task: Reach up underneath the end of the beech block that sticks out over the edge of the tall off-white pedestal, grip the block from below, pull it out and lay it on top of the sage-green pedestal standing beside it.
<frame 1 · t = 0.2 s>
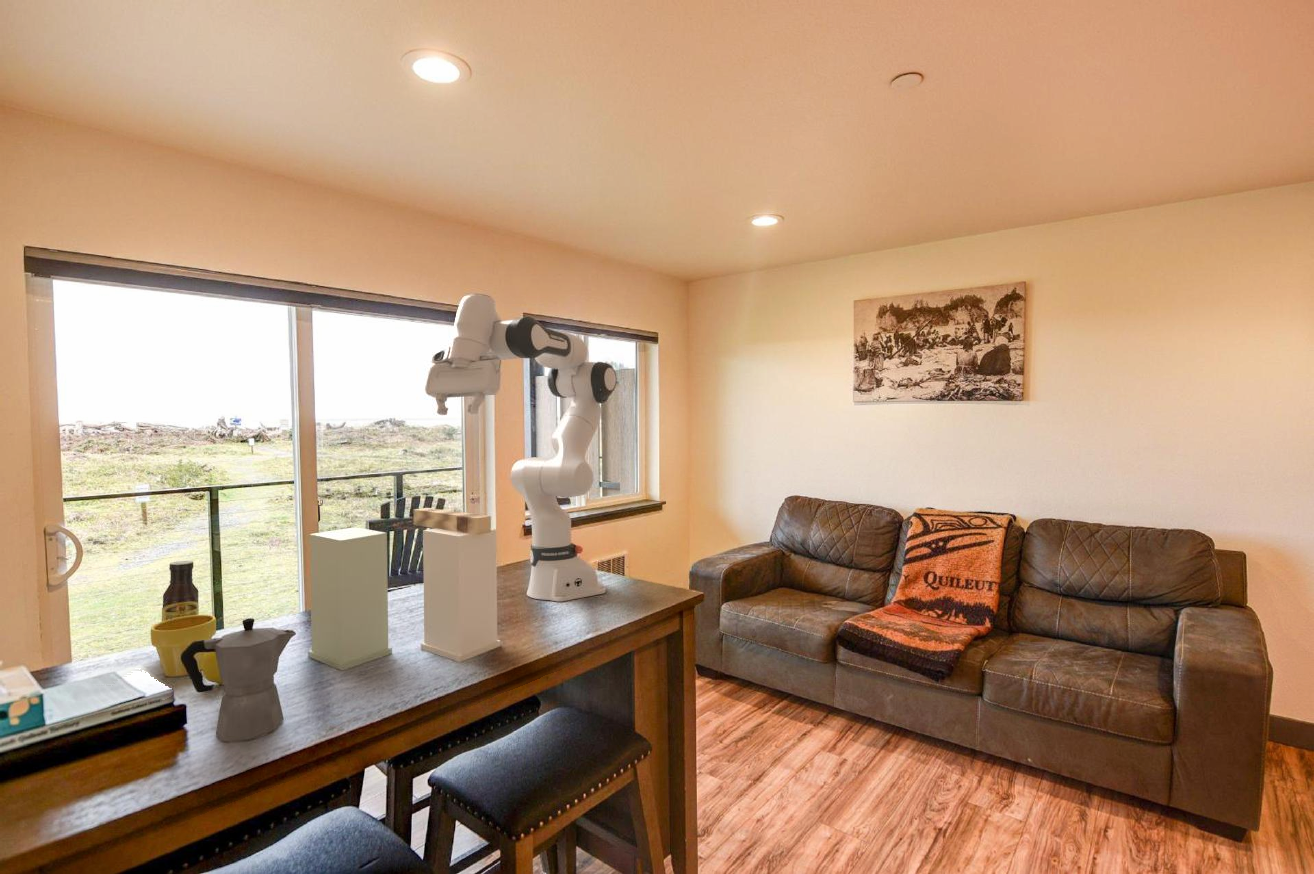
hand: (456, 413, 144), 51 cm above the table, tool tilted 15°, fingers open, 8 cm apart
coffeepot: (242, 731, 101), on the table
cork: (242, 702, 111), on the table
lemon: (220, 685, 118), on the table
plant pot: (185, 671, 124), on the table
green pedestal: (350, 654, 132), on the table
sauce bottle: (180, 656, 132), on the table
beech block: (451, 528, 138), point 26 cm above the table, touching white pedestal
white pedestal: (461, 647, 137), on the table
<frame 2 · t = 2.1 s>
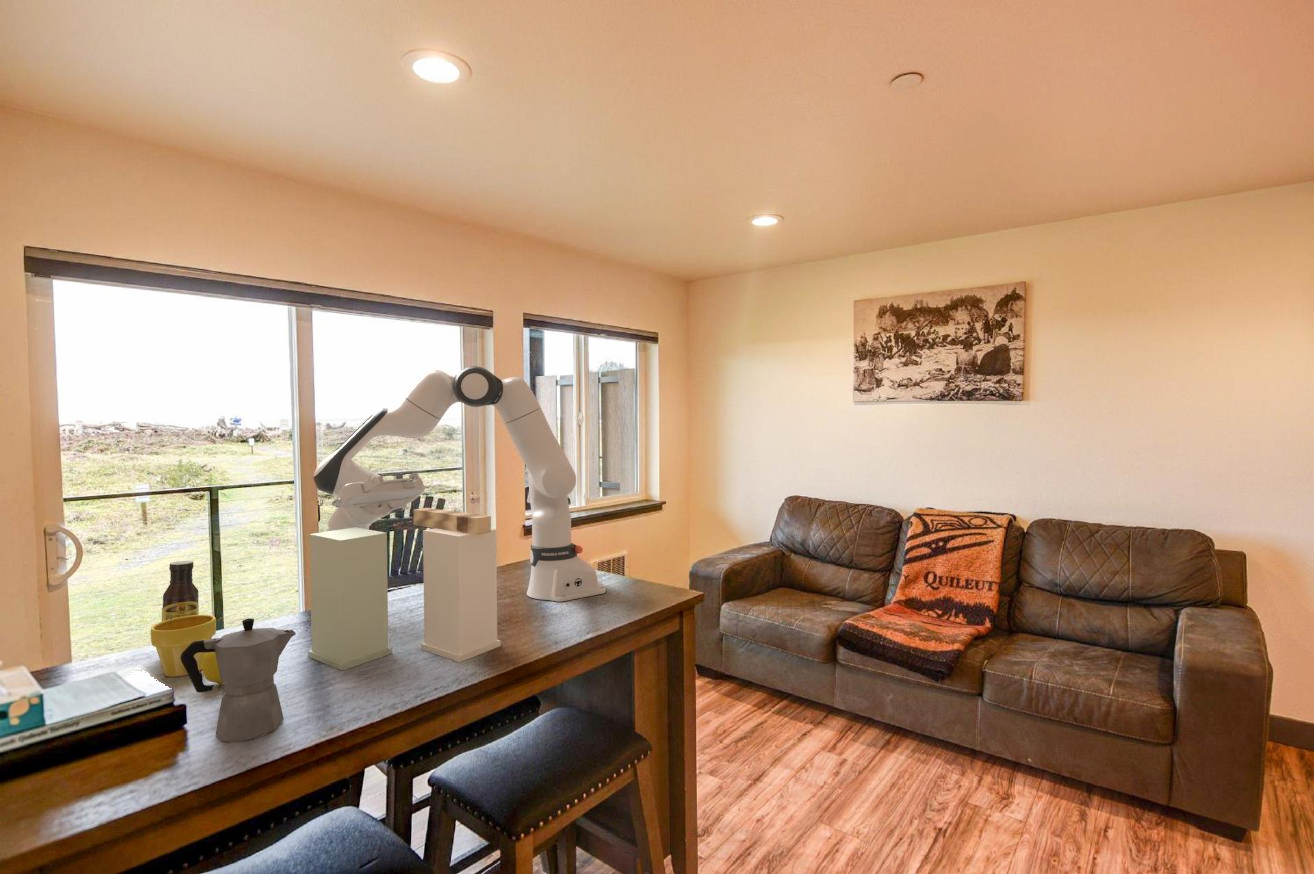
hand: (398, 477, 148), 36 cm above the table, tool pointing upward, fingers open, 8 cm apart
nothing on the table moved.
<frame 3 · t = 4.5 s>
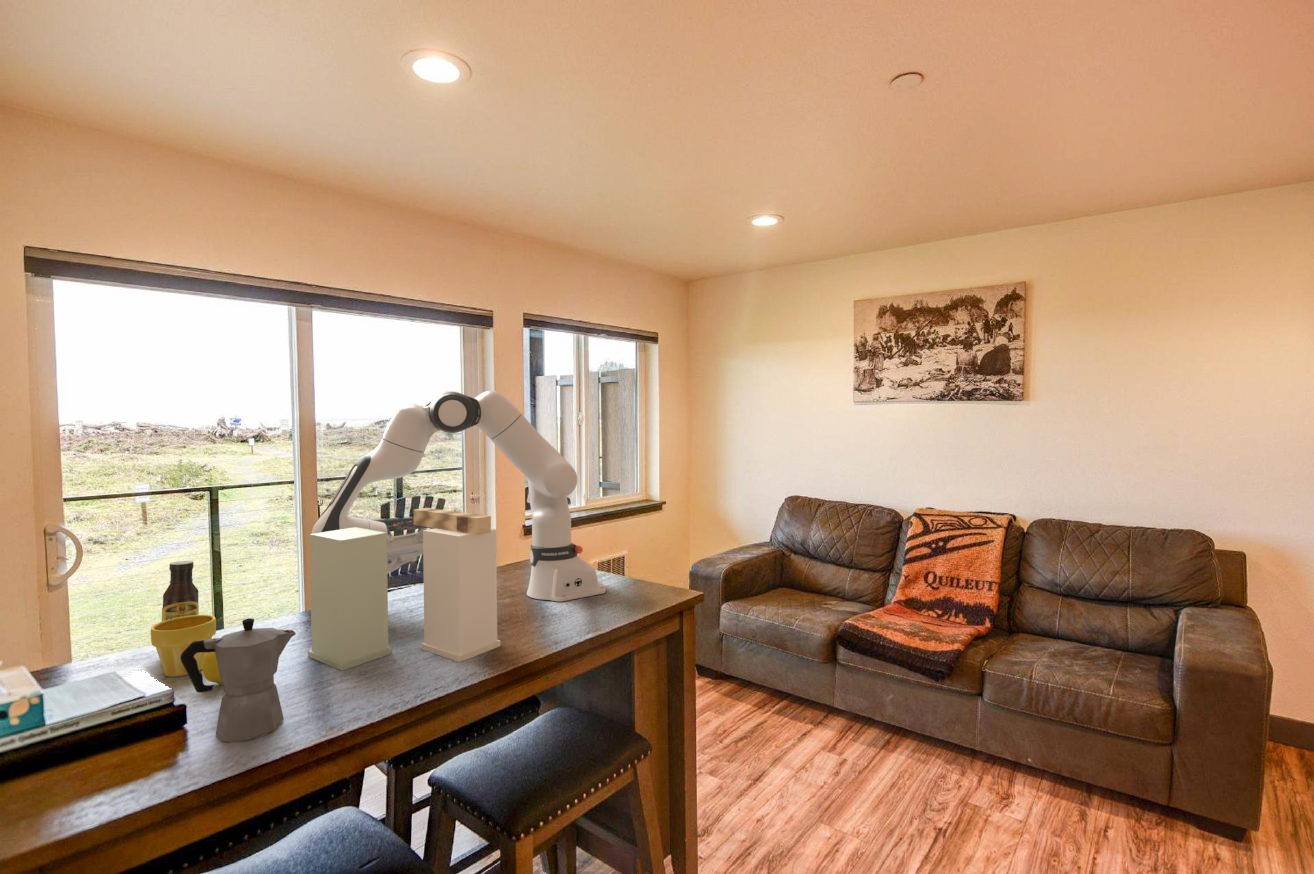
hand: (408, 534, 147), 23 cm above the table, tool pointing upward, fingers open, 8 cm apart
nothing on the table moved.
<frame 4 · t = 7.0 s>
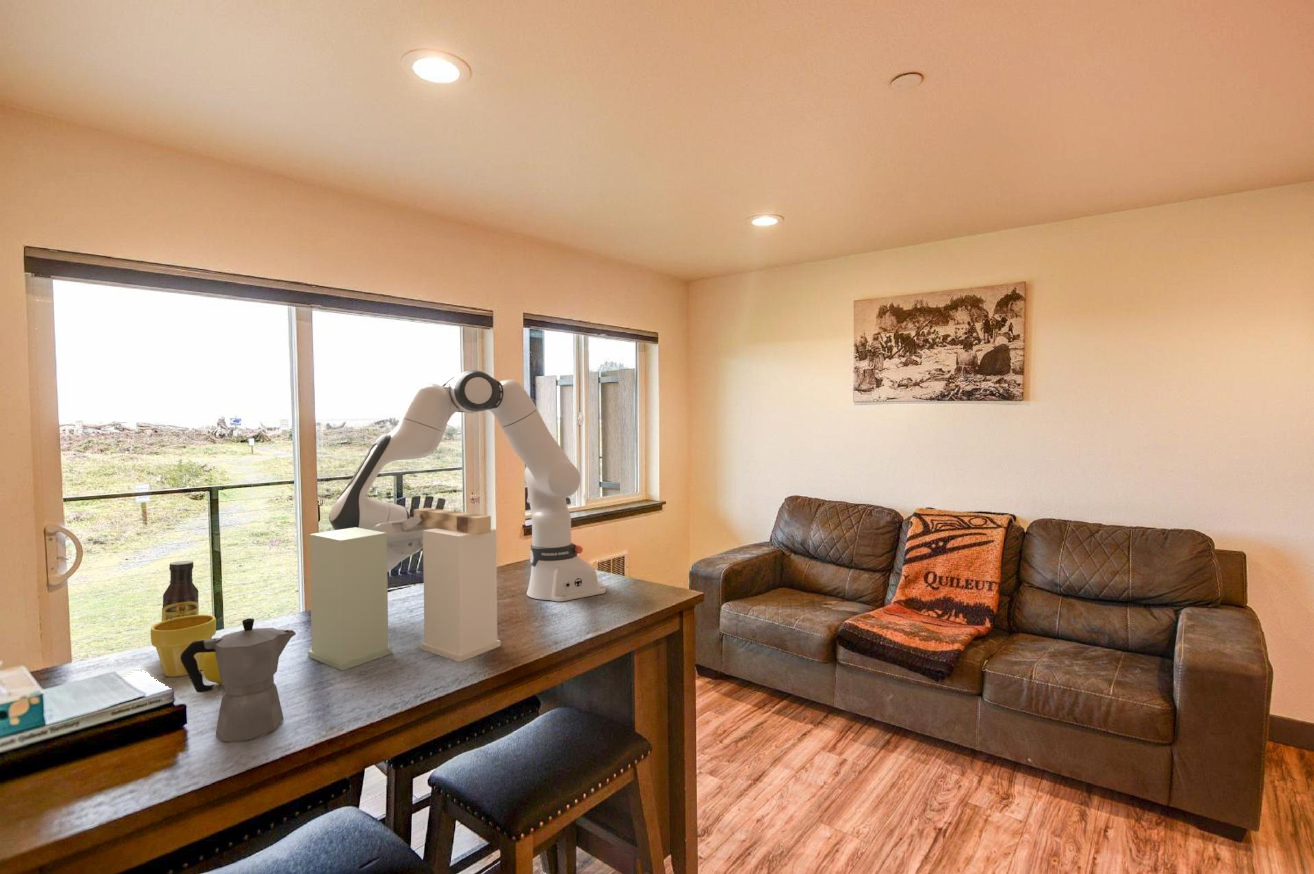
hand: (430, 515, 142), 28 cm above the table, tool pointing upward, fingers closed on beech block, 3 cm apart
beech block: (451, 528, 138), point 26 cm above the table, touching gripper, white pedestal
everything else where it was.
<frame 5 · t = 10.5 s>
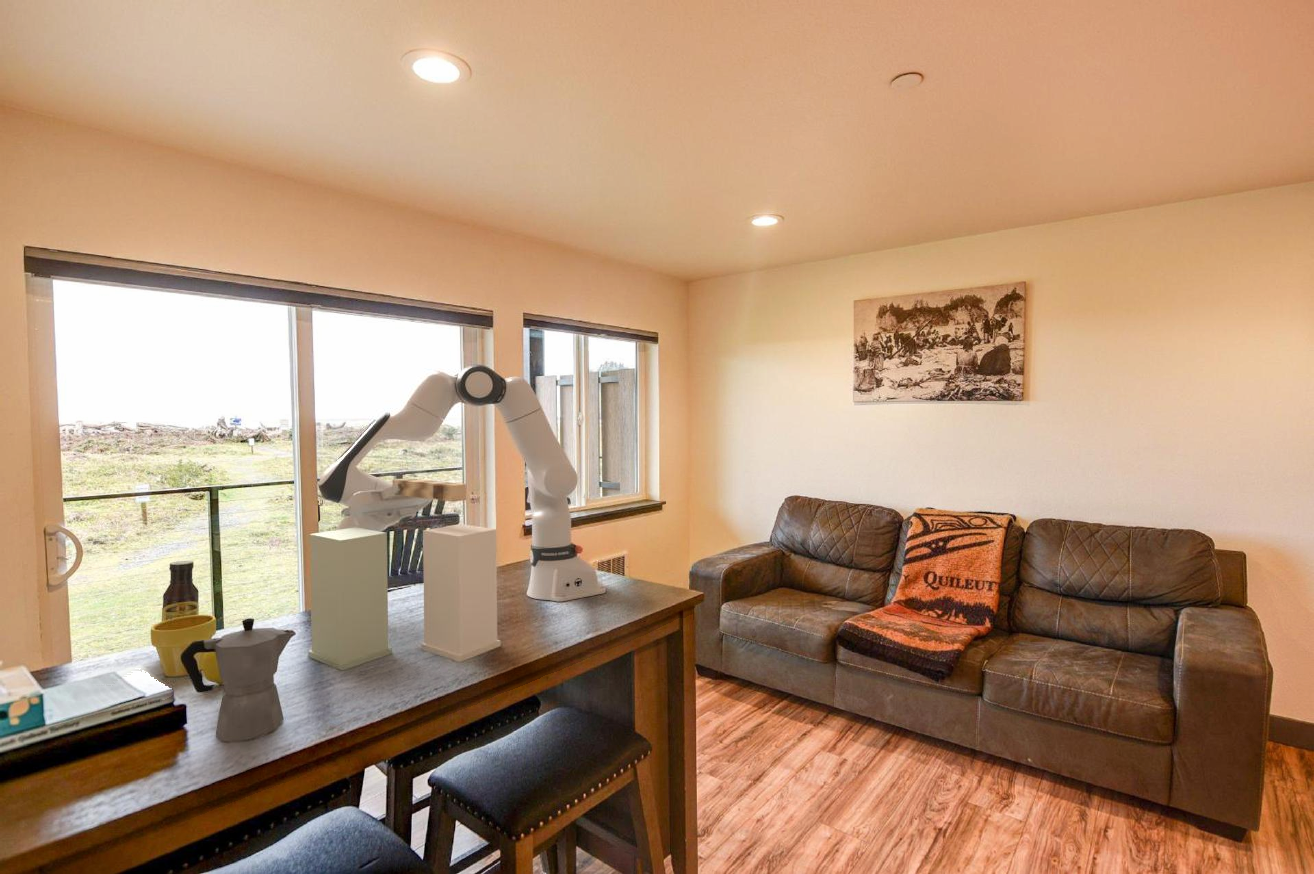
hand: (408, 485, 146), 35 cm above the table, tool pointing upward, fingers closed on beech block, 3 cm apart
beech block: (428, 497, 142), point 32 cm above the table, touching gripper
everything else where it was.
when the fingers open (29 cm above the table, at t = 14.4 s): beech block drops 1 cm, resting on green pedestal.
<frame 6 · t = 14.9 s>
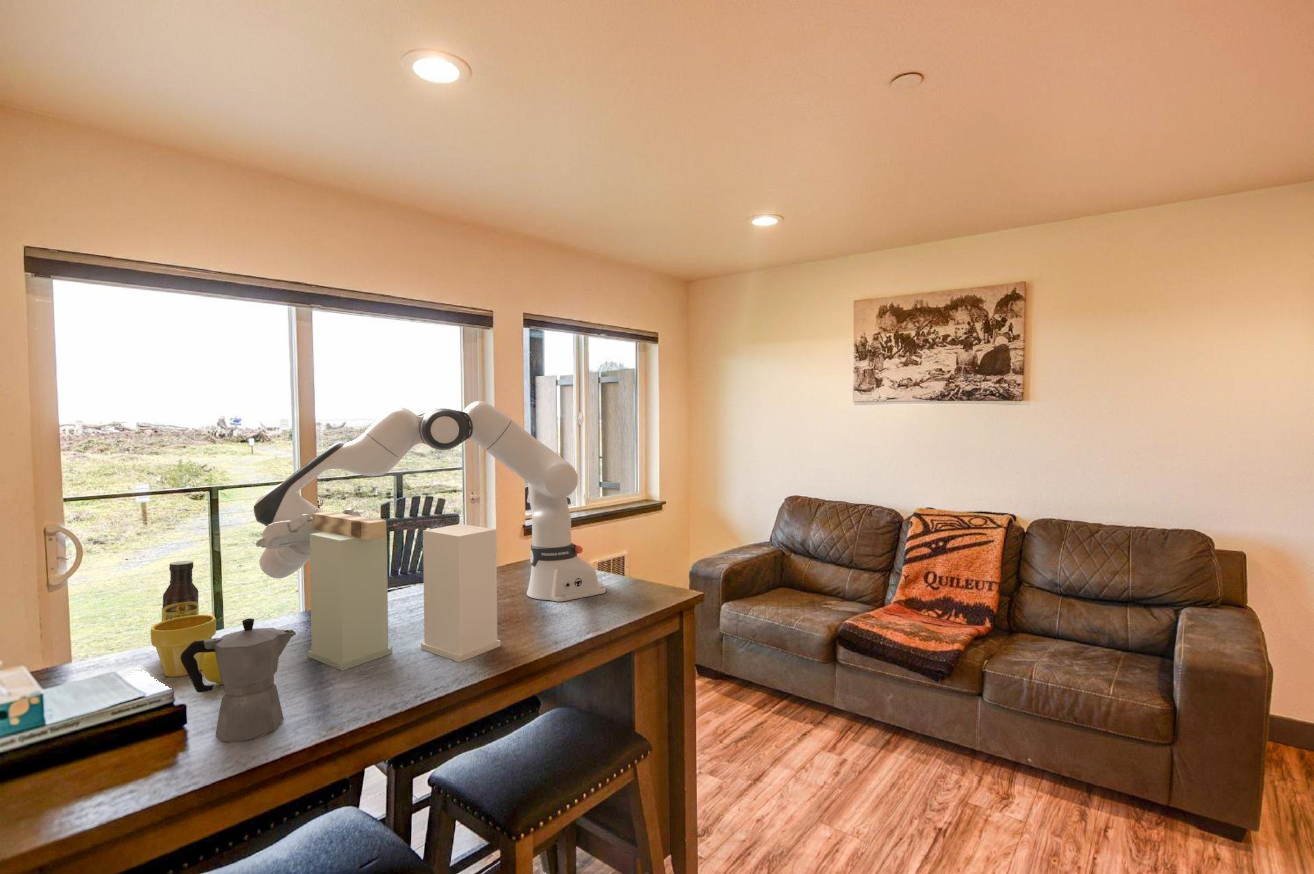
hand: (329, 514, 136), 29 cm above the table, tool pointing upward, fingers open, 8 cm apart
beech block: (348, 533, 132), point 26 cm above the table, touching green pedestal
everything else where it was.
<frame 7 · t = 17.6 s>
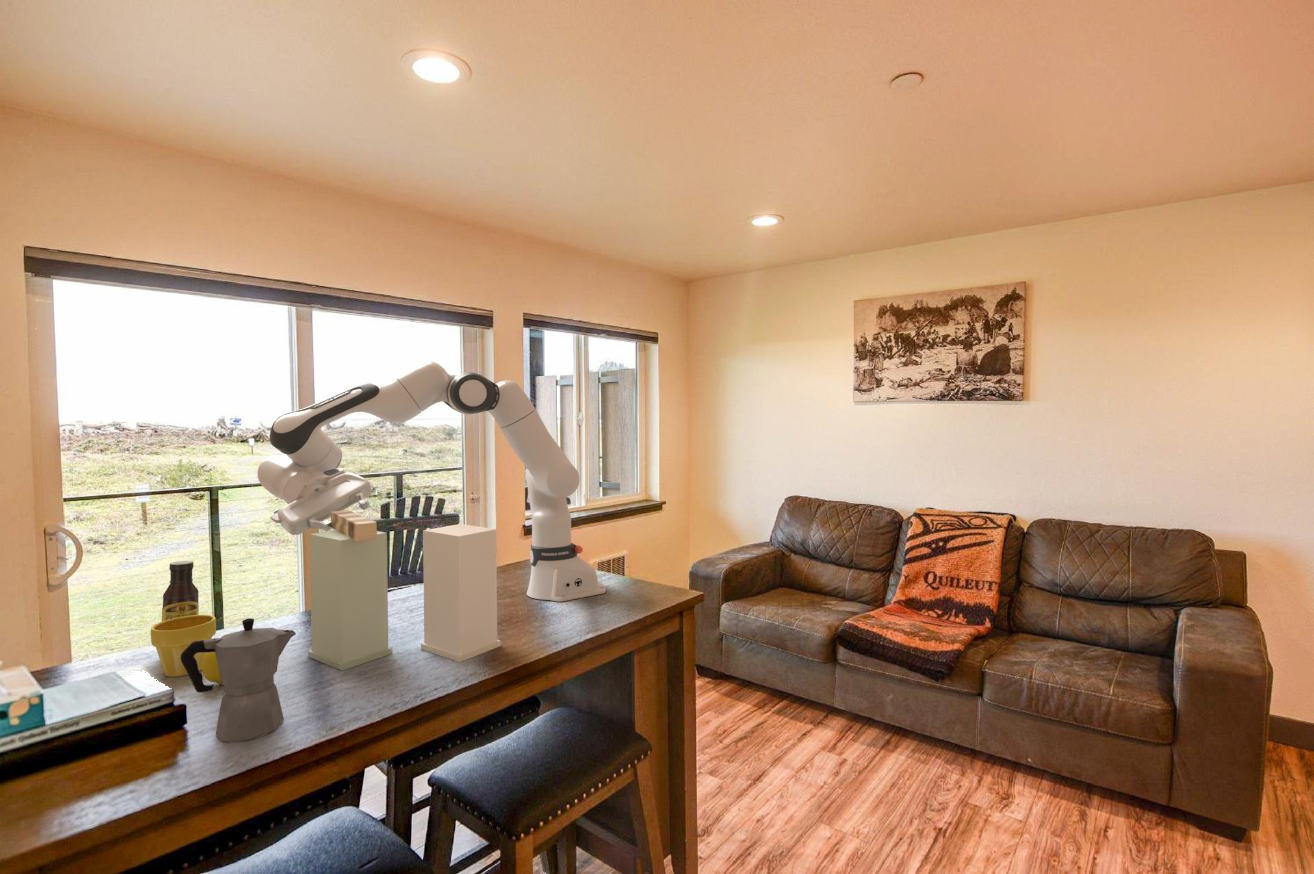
hand: (348, 516, 141), 28 cm above the table, tool tilted 70°, fingers open, 8 cm apart
beech block: (352, 533, 132), point 26 cm above the table, touching gripper
everything else where it was.
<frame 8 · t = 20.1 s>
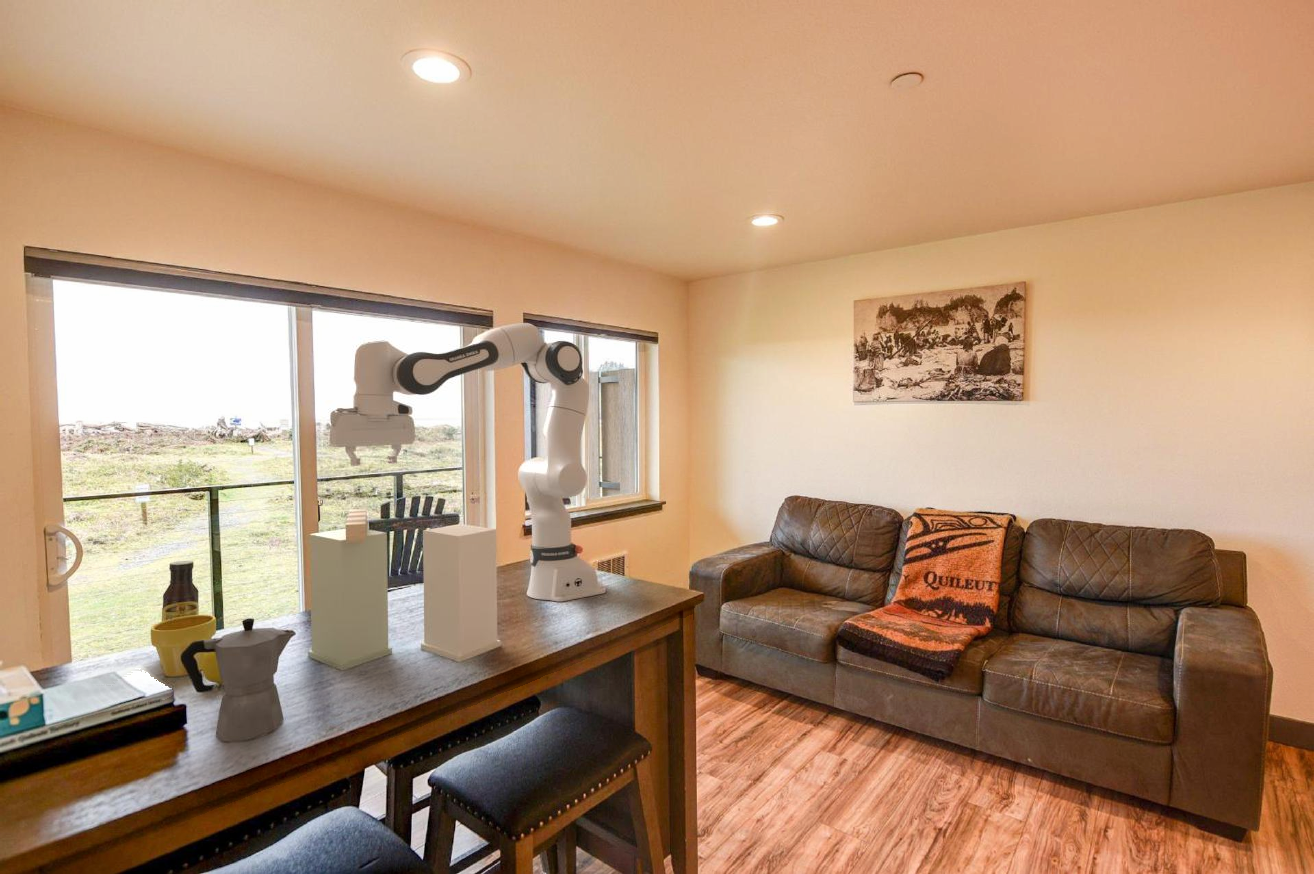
hand: (374, 464, 151), 39 cm above the table, tool pointing down, fingers open, 8 cm apart
beech block: (357, 532, 133), point 26 cm above the table, touching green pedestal
everything else where it was.
at the end: beech block inside the target area on the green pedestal (1.7 cm from its centre), point 26.0 cm above the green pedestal's base; the gripper is holding nothing; beech block tilted 0° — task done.
